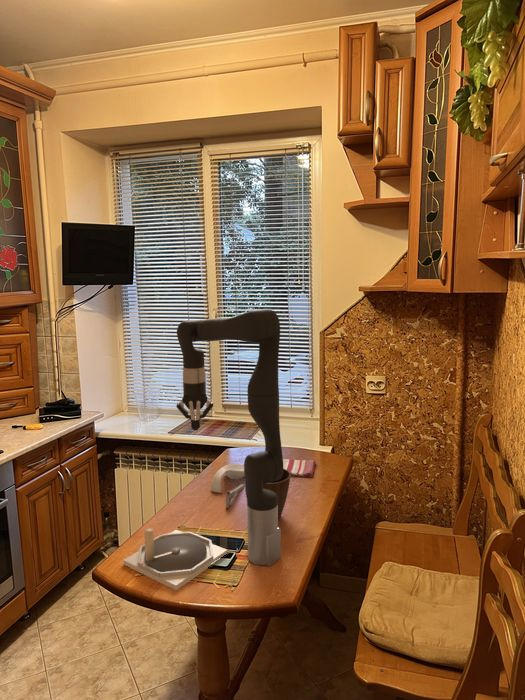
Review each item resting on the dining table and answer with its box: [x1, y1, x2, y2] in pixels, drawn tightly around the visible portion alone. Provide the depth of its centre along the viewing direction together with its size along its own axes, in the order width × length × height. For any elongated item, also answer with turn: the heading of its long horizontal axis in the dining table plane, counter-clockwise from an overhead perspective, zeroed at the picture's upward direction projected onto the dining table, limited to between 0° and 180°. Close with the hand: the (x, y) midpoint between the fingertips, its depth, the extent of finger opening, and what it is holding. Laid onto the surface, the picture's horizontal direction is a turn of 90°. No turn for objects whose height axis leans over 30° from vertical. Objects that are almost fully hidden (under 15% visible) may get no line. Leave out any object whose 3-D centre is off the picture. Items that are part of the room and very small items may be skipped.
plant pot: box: [262, 469, 291, 521], centre depth 181 cm, size 15×15×16 cm
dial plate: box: [122, 529, 228, 591], centre depth 157 cm, size 22×22×3 cm
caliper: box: [225, 483, 245, 509], centre depth 199 cm, size 20×1×6 cm, turn 165°
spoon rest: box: [210, 463, 245, 494], centre depth 213 cm, size 24×12×7 cm, turn 156°
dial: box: [143, 528, 207, 572], centre depth 156 cm, size 19×19×10 cm
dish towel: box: [283, 458, 316, 478], centre depth 226 cm, size 17×23×3 cm
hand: (195, 429), depth 176 cm, fingers closed
